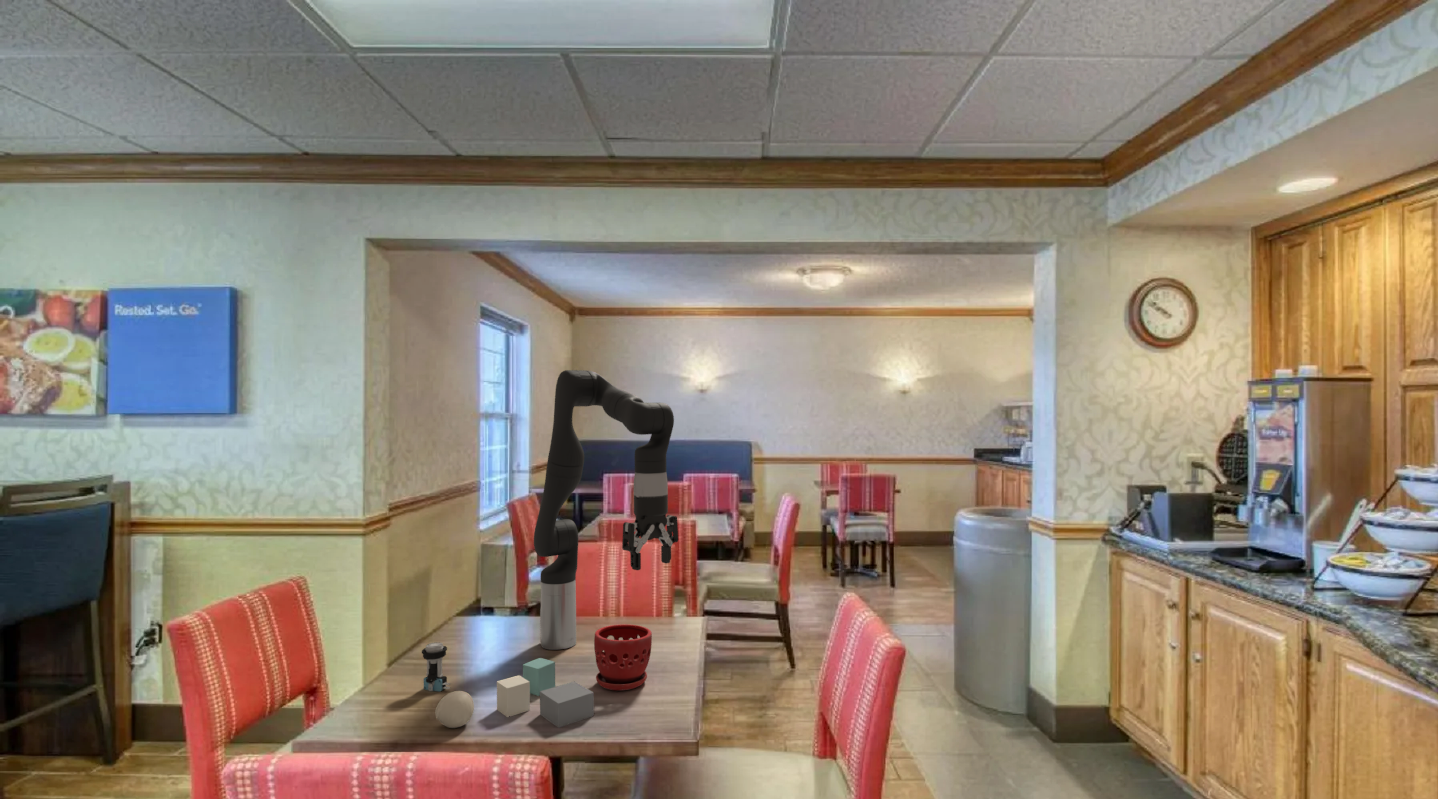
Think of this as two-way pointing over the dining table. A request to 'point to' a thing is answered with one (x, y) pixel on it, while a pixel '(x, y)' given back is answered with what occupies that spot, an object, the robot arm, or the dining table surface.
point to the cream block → (513, 696)
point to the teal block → (539, 675)
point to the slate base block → (566, 704)
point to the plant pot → (622, 656)
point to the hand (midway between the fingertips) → (651, 566)
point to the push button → (435, 667)
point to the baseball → (455, 709)
